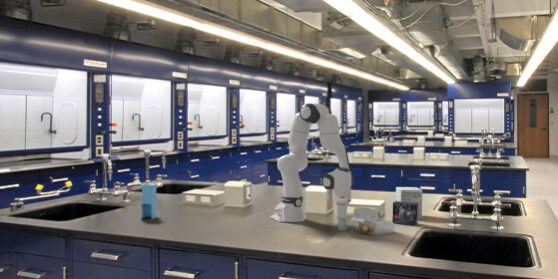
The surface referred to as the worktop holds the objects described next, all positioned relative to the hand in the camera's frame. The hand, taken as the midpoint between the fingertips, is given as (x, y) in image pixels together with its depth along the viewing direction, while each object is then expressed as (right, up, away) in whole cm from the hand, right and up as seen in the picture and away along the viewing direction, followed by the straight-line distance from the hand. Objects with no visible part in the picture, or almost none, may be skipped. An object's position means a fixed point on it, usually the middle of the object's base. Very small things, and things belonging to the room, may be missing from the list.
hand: (342, 224), depth 243 cm
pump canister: (0, -3, 0) cm, 3 cm away
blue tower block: (-112, -2, +29) cm, 116 cm away
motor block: (+16, -4, -4) cm, 17 cm away
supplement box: (+46, -3, +38) cm, 59 cm away
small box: (+38, -3, +18) cm, 43 cm away
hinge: (+16, -3, +19) cm, 25 cm away
